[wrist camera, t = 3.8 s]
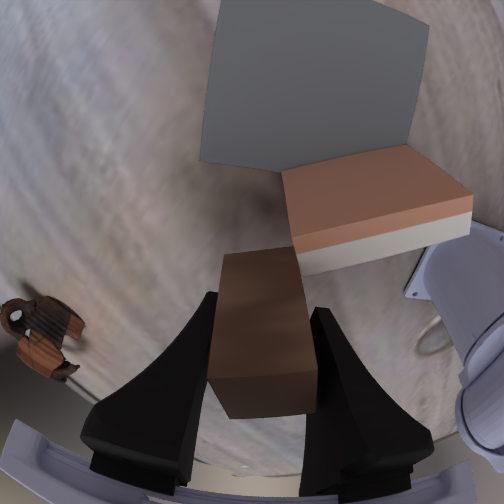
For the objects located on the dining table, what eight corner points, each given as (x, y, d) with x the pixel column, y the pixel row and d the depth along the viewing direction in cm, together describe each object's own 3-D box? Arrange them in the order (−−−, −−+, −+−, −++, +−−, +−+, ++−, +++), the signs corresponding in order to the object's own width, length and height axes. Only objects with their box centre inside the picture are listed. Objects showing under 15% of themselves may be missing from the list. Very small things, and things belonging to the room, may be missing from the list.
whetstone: (406, 144, 14) (473, 194, 9) (409, 173, 16) (469, 234, 10) (281, 171, 16) (291, 237, 10) (289, 200, 17) (302, 277, 12)
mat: (424, 26, 10) (429, 25, 10) (386, 193, 17) (389, 196, 17) (228, -24, 10) (226, -28, 10) (201, 158, 17) (199, 161, 16)
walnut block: (294, 246, 12) (317, 369, 7) (298, 298, 14) (315, 412, 9) (224, 254, 12) (206, 378, 7) (236, 305, 14) (229, 419, 9)
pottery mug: (109, 334, 28) (82, 397, 24) (81, 319, 34) (58, 369, 30) (21, 275, 20) (-12, 348, 16) (13, 270, 26) (-13, 326, 22)
